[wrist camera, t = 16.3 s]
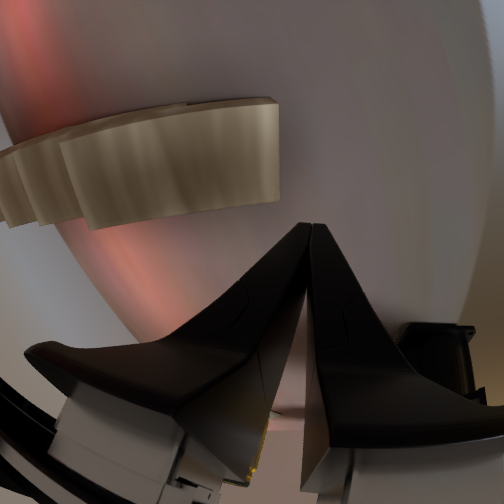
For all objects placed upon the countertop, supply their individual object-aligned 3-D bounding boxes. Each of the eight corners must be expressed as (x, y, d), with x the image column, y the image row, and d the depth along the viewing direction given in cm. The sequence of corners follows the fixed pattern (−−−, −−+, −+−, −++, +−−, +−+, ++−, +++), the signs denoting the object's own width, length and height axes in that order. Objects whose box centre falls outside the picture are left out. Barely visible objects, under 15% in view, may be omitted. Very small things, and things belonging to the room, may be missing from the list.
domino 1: (115, 120, 14) (-16, 165, 13) (133, 199, 17) (9, 228, 16) (121, 114, 15) (-5, 156, 14) (136, 187, 18) (18, 216, 17)
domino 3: (278, 103, 12) (59, 143, 11) (279, 200, 15) (89, 230, 14) (270, 96, 13) (70, 132, 12) (272, 186, 16) (96, 214, 15)
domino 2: (185, 108, 13) (12, 152, 12) (197, 197, 16) (40, 226, 15) (186, 102, 14) (24, 142, 13) (196, 184, 17) (48, 212, 16)
